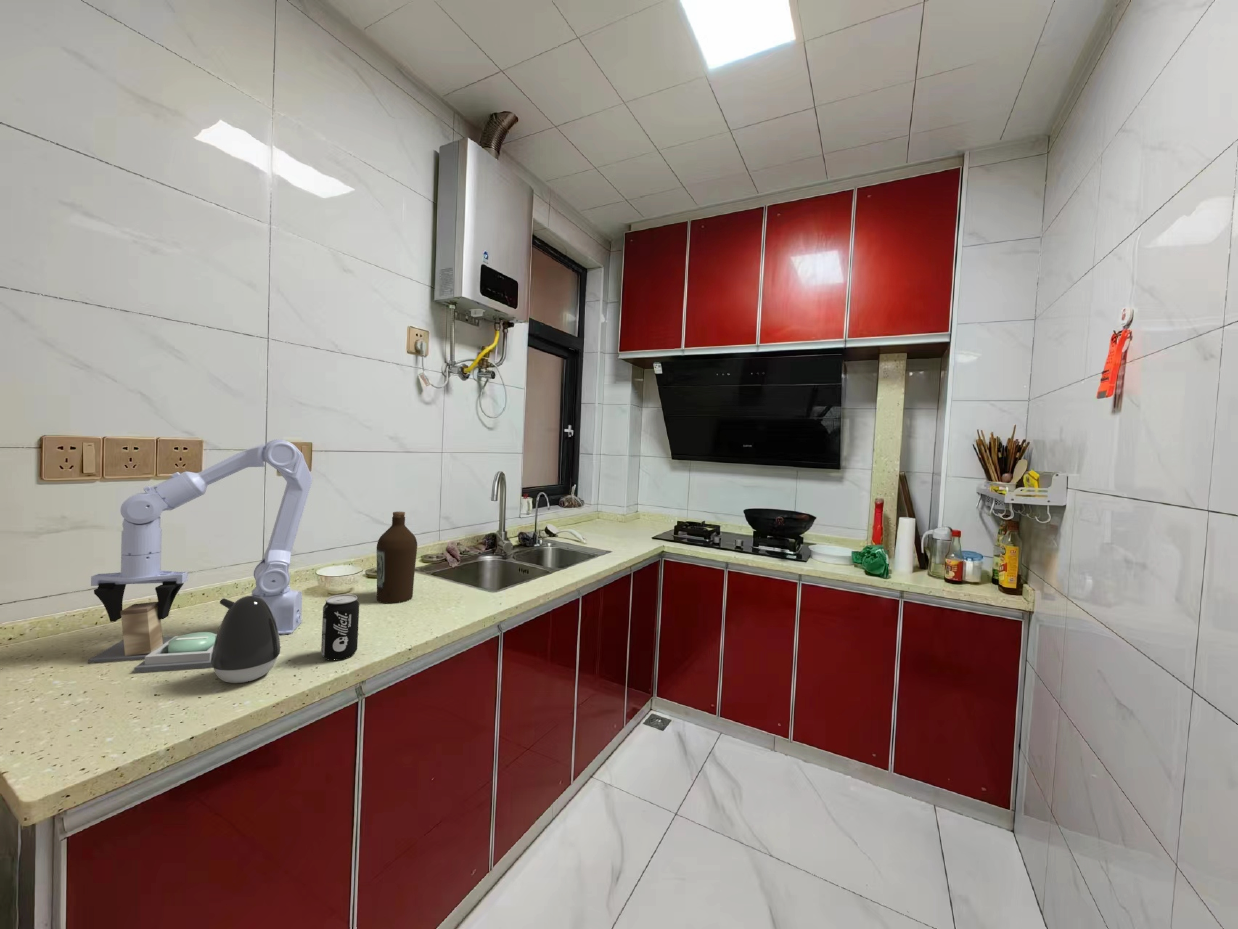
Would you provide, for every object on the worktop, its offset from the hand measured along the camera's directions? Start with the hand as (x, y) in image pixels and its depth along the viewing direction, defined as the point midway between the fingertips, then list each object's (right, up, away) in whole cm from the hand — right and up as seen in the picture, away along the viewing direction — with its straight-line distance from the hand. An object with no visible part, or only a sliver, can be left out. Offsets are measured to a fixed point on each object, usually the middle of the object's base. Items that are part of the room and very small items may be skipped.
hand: (139, 618), depth 96 cm
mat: (0, -6, 0) cm, 6 cm away
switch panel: (+12, -7, -1) cm, 14 cm away
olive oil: (+32, -8, +41) cm, 53 cm away
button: (+12, -6, -1) cm, 13 cm away
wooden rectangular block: (+2, -6, -1) cm, 6 cm away
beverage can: (+38, -9, +4) cm, 40 cm away
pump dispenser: (+27, -9, -7) cm, 30 cm away
